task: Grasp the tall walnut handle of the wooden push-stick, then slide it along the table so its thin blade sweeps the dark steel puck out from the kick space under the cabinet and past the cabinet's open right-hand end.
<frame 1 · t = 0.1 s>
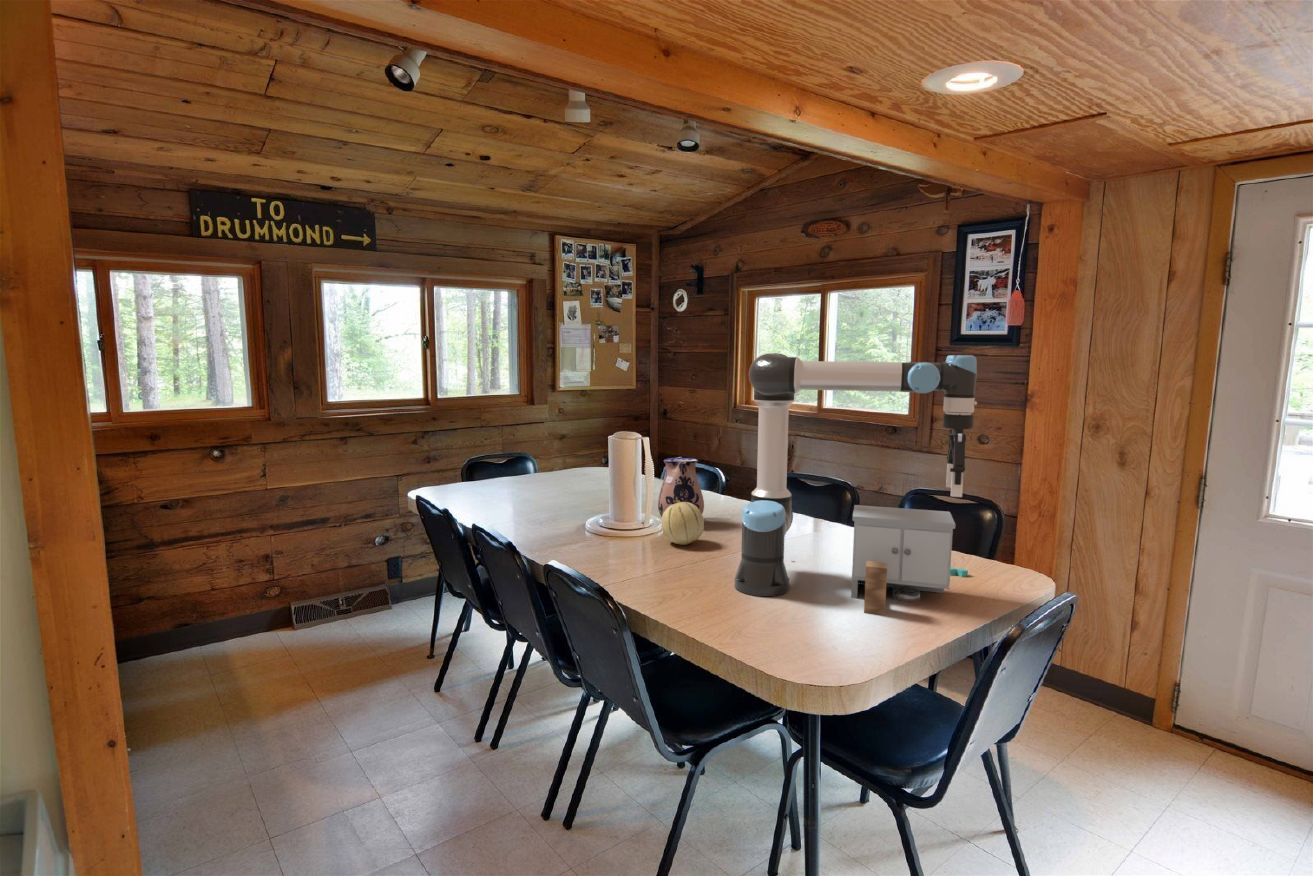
hand: (953, 491, 185), 28 cm above the table, fingers open, 13 cm apart
alien figure: (916, 571, 208), on the table
push-stick: (874, 610, 174), on the table
cabinet: (897, 594, 186), on the table
cantaloupe: (682, 544, 234), on the table
steel puck: (905, 598, 184), on the table
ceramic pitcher: (679, 523, 264), on the table
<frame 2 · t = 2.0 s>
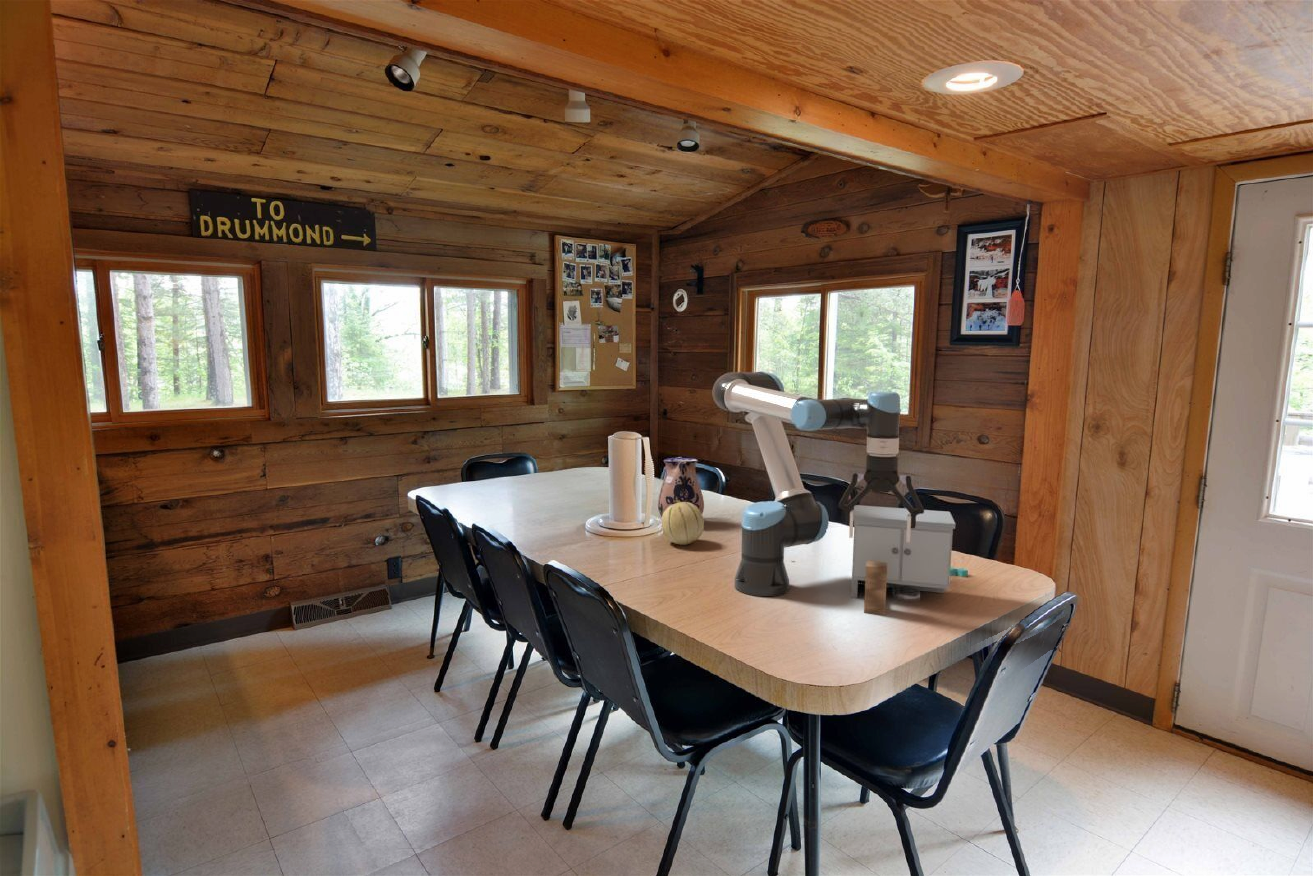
hand: (879, 538, 171), 19 cm above the table, fingers open, 13 cm apart
nothing on the table moved.
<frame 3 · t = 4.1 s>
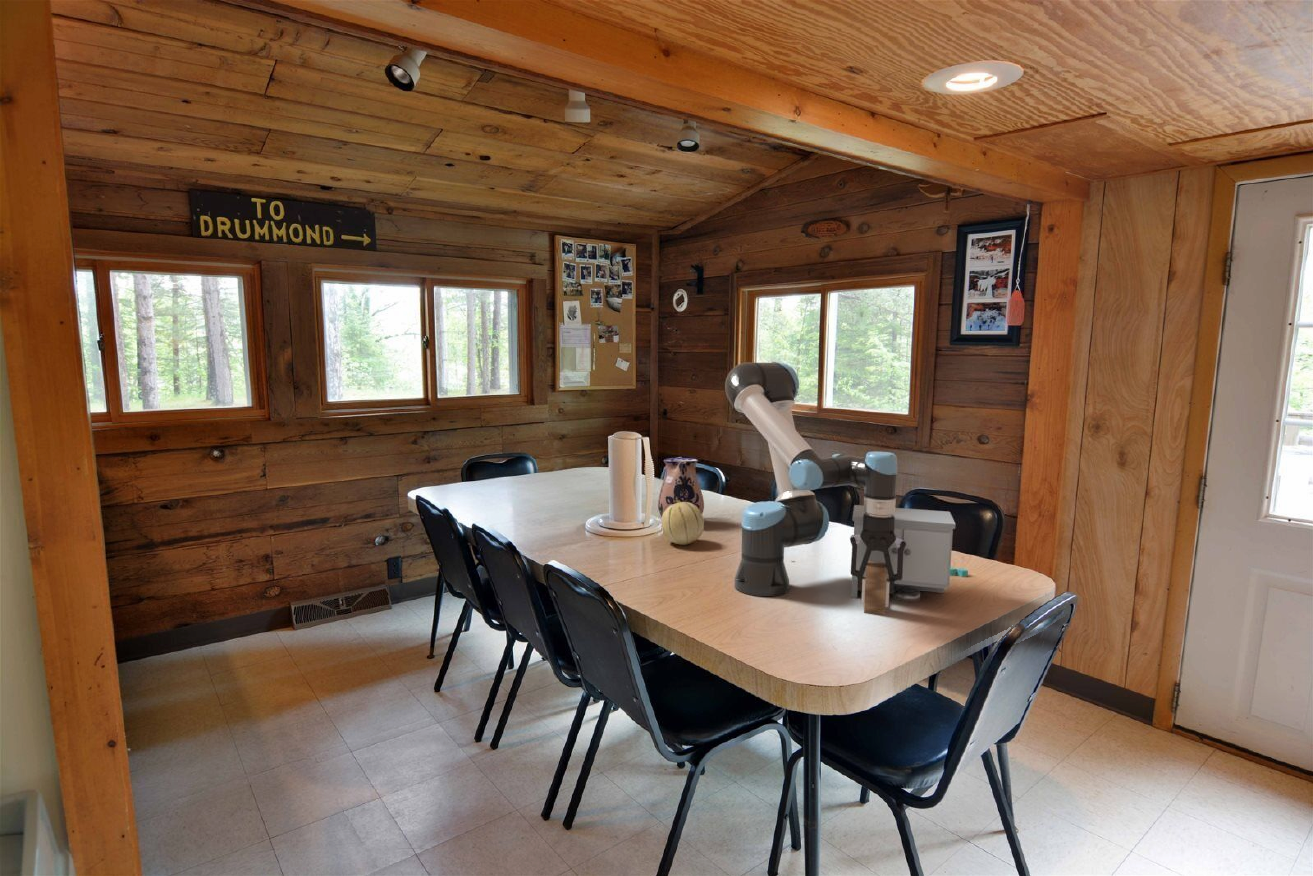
hand: (874, 603, 173), 2 cm above the table, fingers closed on push-stick, 5 cm apart
push-stick: (874, 610, 174), on the table, touching gripper
everything else where it was.
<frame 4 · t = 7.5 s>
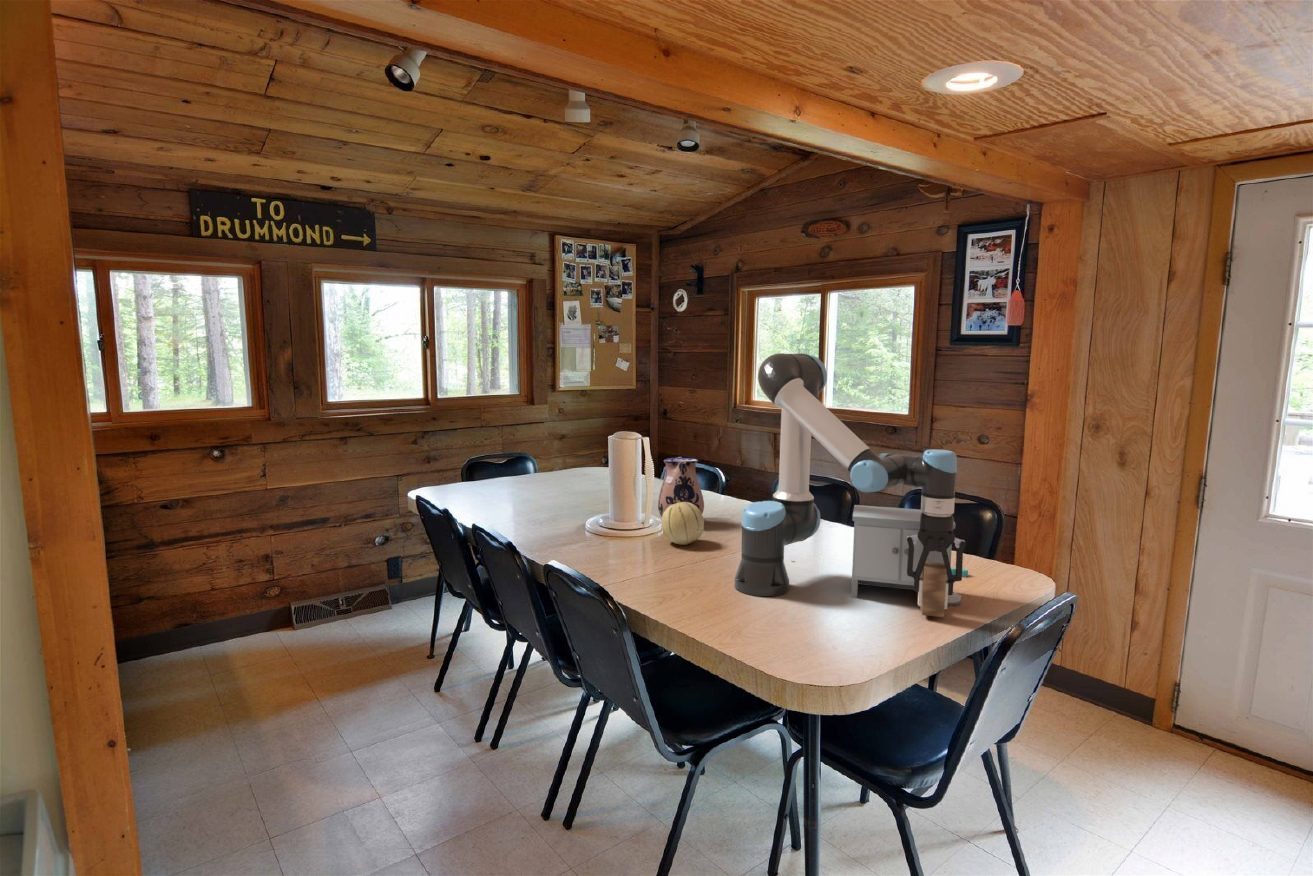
hand: (932, 605, 169), 3 cm above the table, fingers closed on push-stick, 5 cm apart
push-stick: (931, 612, 169), point 1 cm above the table, touching gripper, steel puck
steel puck: (946, 602, 181), on the table, touching push-stick
everything else where it was.
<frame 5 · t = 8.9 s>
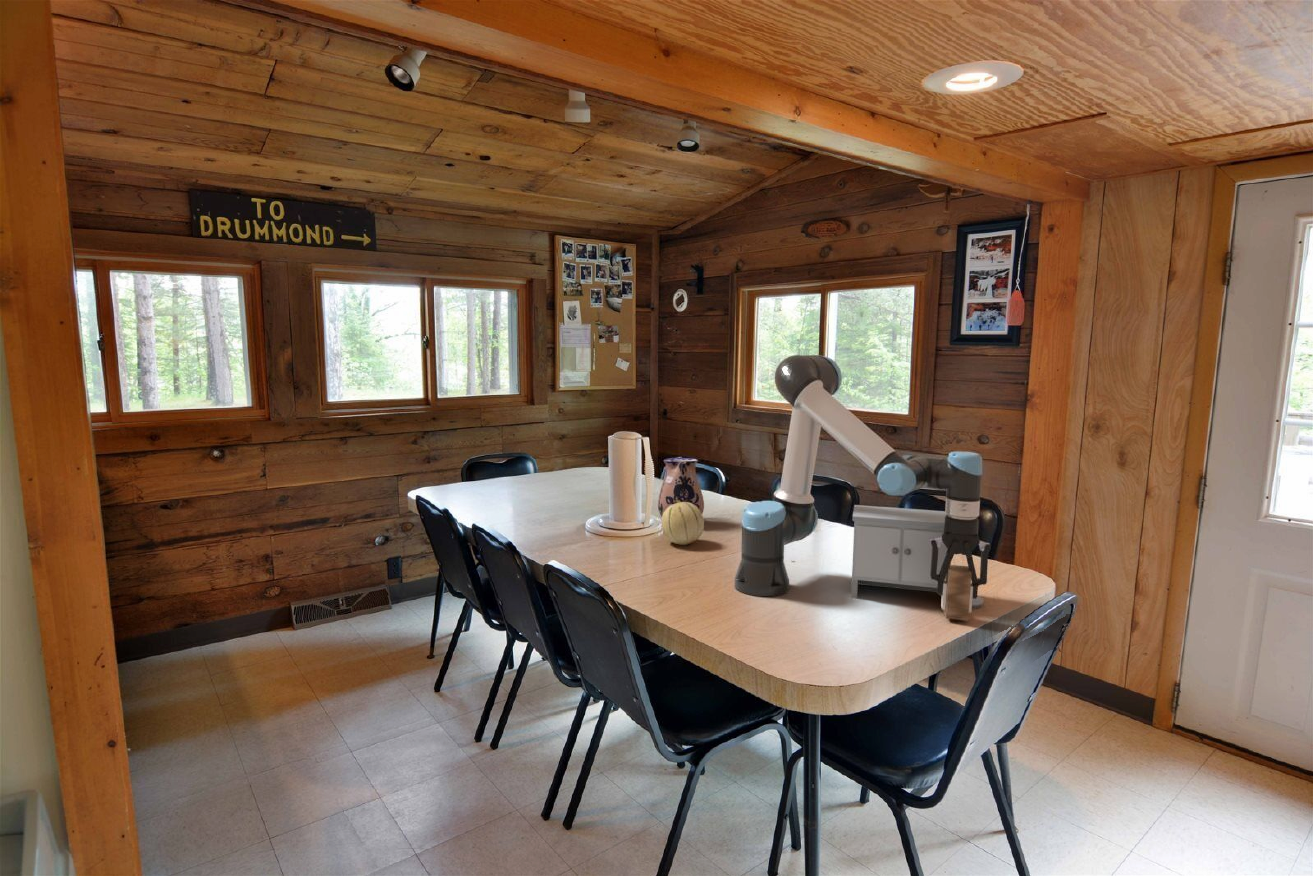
hand: (956, 609, 168), 3 cm above the table, fingers closed on push-stick, 5 cm apart
push-stick: (955, 615, 168), point 1 cm above the table, touching gripper
steel puck: (968, 604, 179), on the table
everything else where it was.
when the fingers open (3 cm above the table, at t = 9.7 s): push-stick stays where it is, on the table.
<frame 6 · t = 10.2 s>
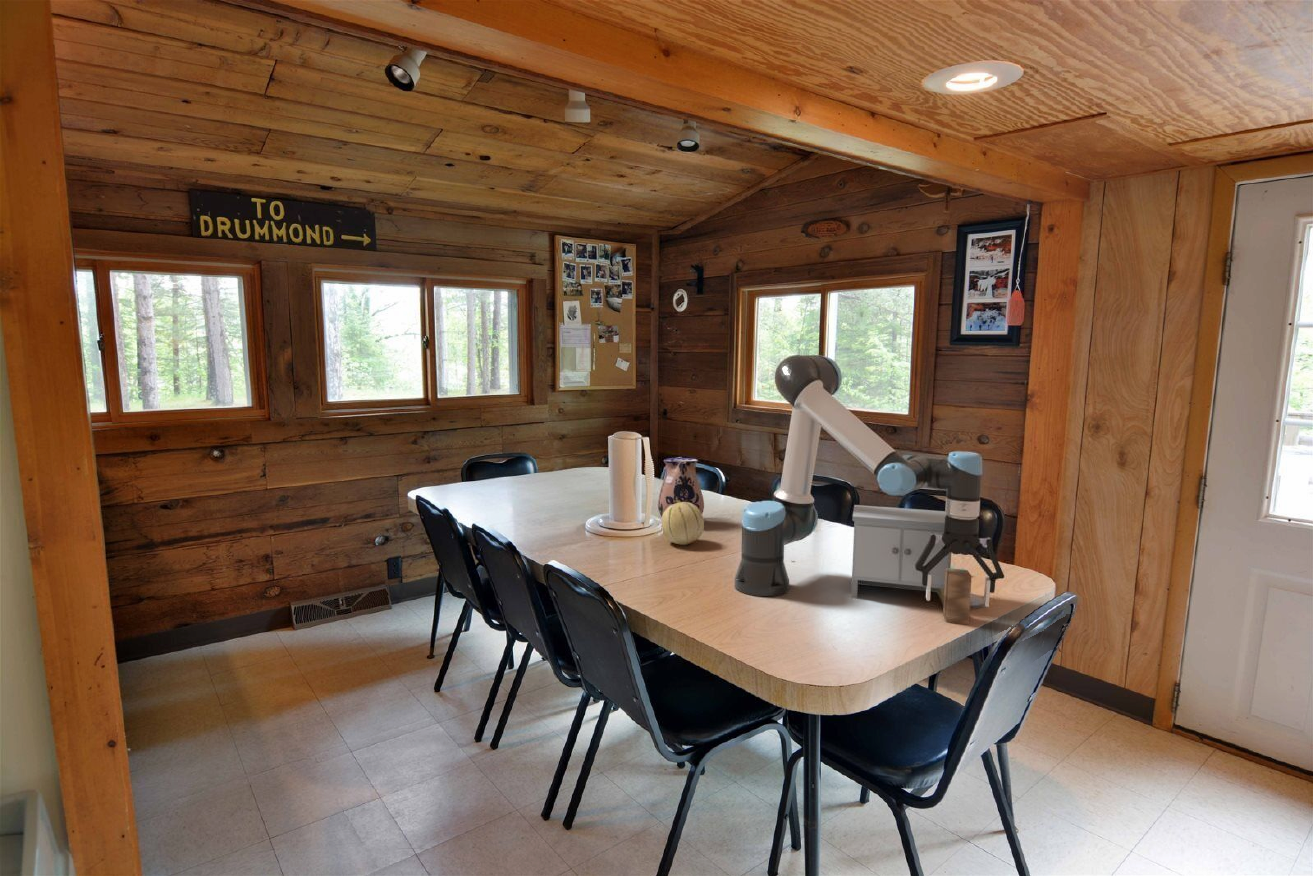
hand: (956, 602, 167), 5 cm above the table, fingers open, 12 cm apart
push-stick: (955, 619, 168), on the table
everything else where it was.
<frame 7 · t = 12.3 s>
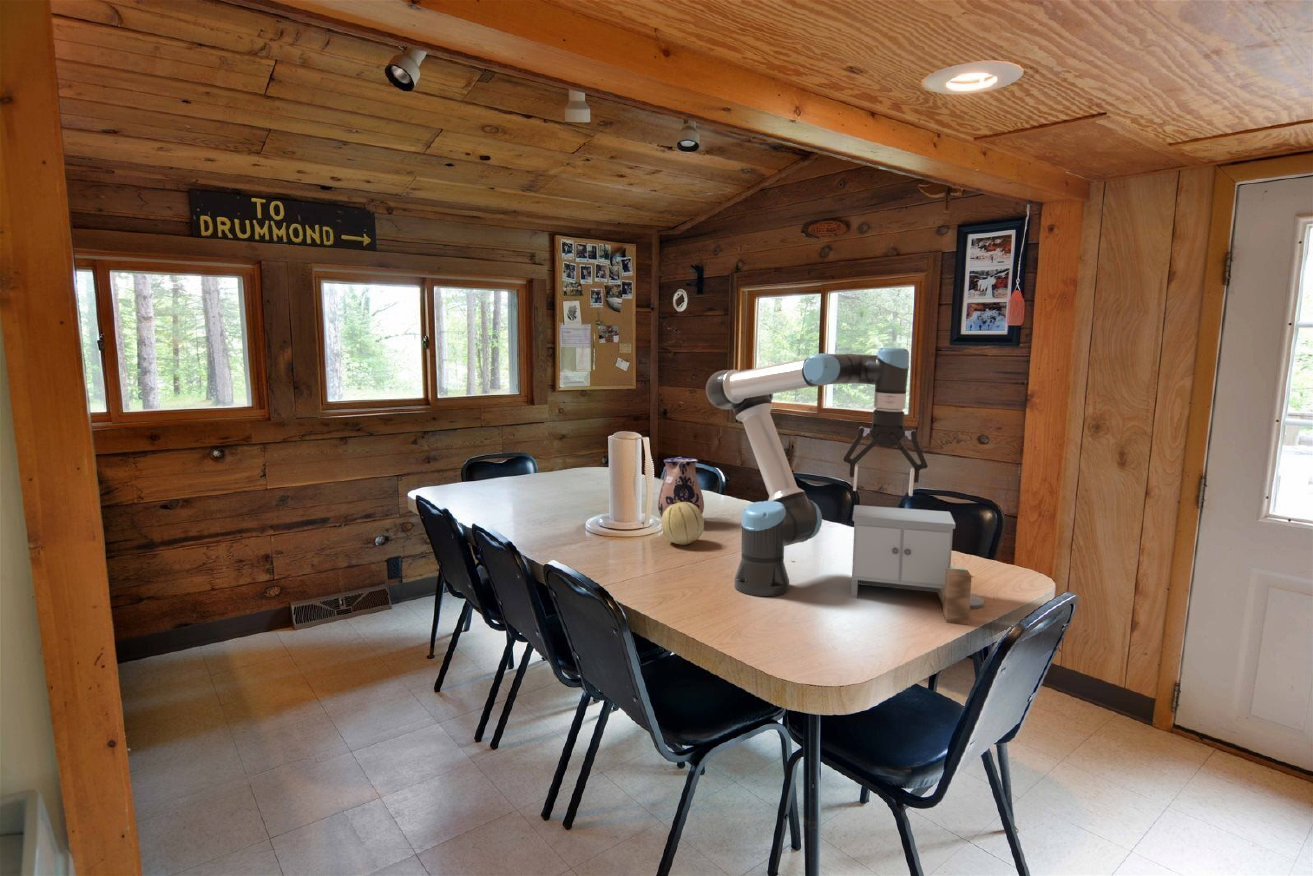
hand: (882, 492, 175), 30 cm above the table, fingers open, 13 cm apart
nothing on the table moved.
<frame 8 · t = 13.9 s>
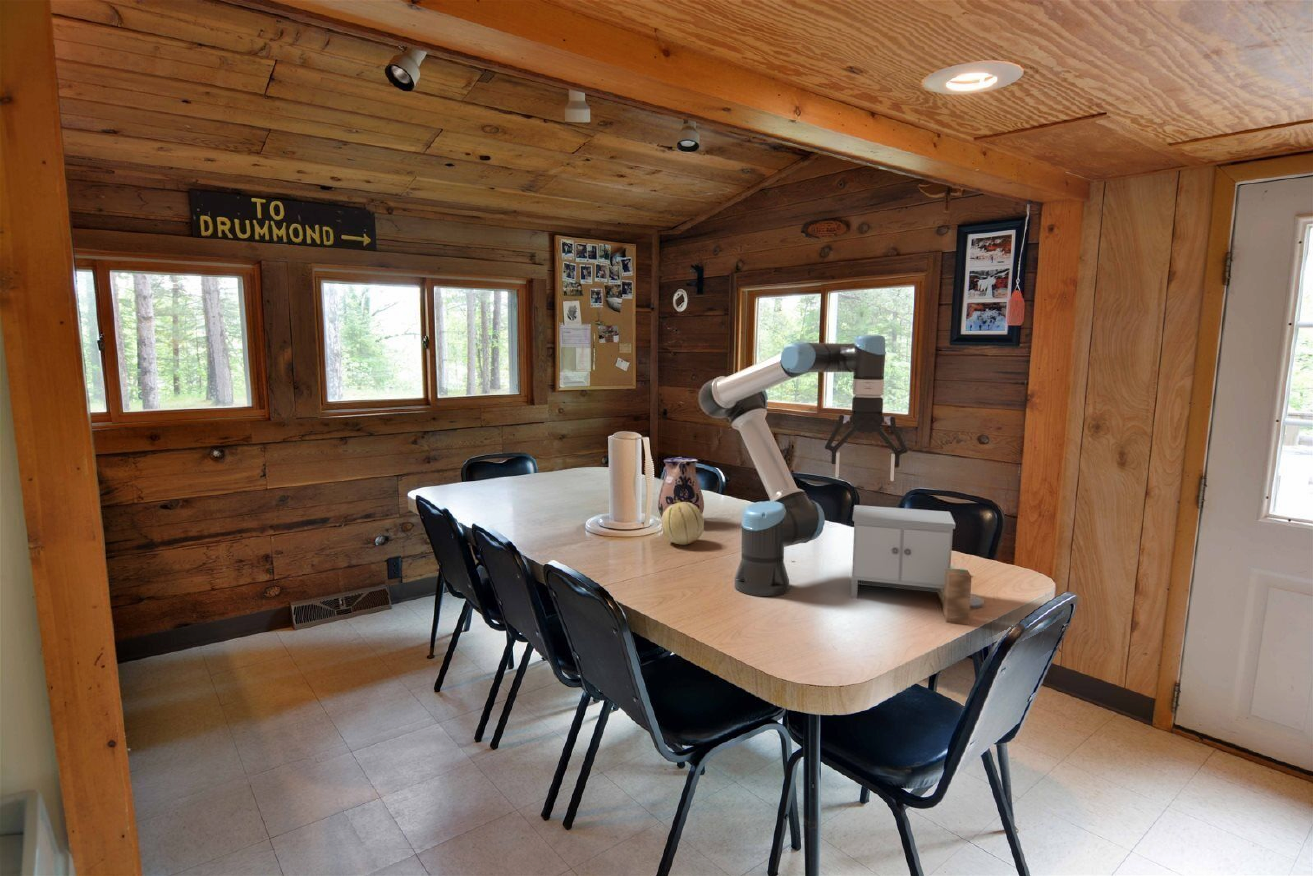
hand: (864, 478, 177), 33 cm above the table, fingers open, 13 cm apart
nothing on the table moved.
at the end: steel puck inside the target area (2.9 cm from its centre), on the table; steel puck touching table; the gripper is holding nothing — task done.
